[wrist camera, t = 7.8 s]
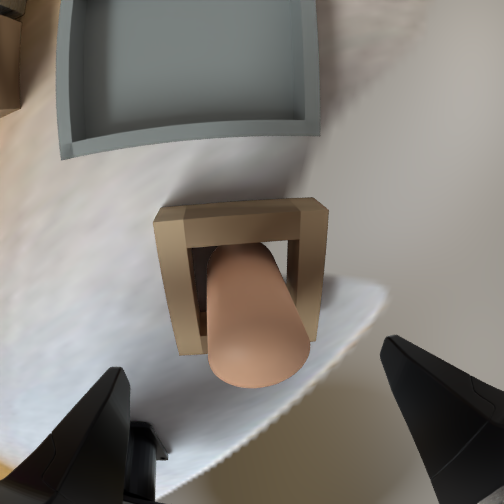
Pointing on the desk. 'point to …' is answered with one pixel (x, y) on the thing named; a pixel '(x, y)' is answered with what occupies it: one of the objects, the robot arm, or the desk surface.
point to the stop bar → (12, 8)
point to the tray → (184, 71)
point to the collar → (239, 232)
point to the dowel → (251, 318)
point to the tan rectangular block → (9, 65)
